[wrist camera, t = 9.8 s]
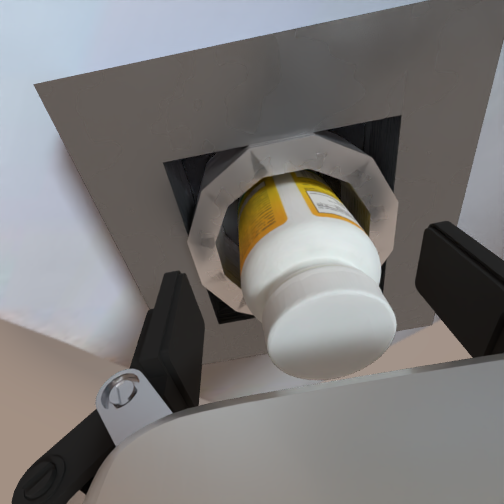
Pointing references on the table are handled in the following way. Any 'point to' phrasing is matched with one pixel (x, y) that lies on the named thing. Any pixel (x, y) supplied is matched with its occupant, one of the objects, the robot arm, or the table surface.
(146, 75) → the bore block
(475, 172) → the table surface
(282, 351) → the supplement bottle
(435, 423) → the robot arm
